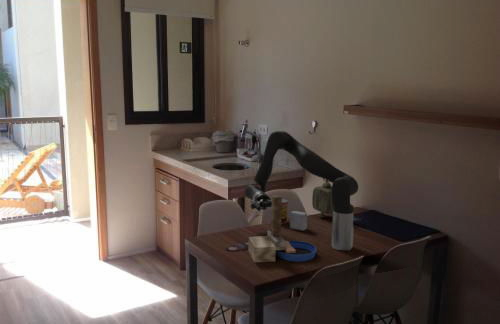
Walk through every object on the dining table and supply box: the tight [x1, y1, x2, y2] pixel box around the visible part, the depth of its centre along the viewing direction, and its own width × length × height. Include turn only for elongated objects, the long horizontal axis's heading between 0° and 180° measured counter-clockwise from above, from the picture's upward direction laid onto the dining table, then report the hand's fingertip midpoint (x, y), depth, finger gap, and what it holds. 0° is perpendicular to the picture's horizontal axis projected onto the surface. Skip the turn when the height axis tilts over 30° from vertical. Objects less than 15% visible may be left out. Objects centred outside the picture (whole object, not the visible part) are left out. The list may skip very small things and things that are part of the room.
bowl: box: [276, 240, 317, 262], centre depth 199 cm, size 18×18×4 cm
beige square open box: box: [247, 235, 287, 263], centre depth 196 cm, size 14×14×6 cm
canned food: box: [281, 198, 289, 225], centre depth 247 cm, size 8×8×12 cm
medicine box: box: [289, 210, 308, 231], centre depth 235 cm, size 8×4×9 cm, turn 58°
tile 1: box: [284, 247, 296, 253], centre depth 194 cm, size 4×4×1 cm
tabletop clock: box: [311, 178, 333, 219], centre depth 255 cm, size 14×9×25 cm, turn 32°
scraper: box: [266, 194, 286, 247], centre depth 195 cm, size 4×15×20 cm, turn 11°
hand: (268, 208), depth 205 cm, fingers open, 8 cm apart
